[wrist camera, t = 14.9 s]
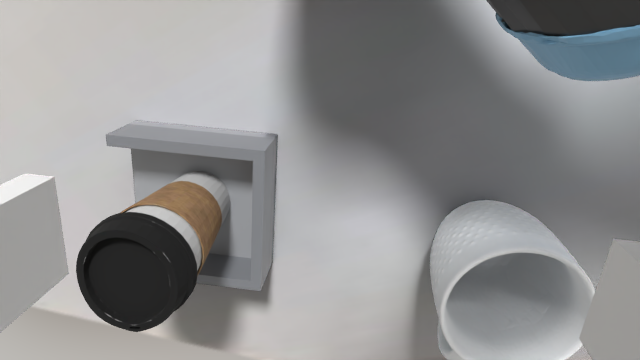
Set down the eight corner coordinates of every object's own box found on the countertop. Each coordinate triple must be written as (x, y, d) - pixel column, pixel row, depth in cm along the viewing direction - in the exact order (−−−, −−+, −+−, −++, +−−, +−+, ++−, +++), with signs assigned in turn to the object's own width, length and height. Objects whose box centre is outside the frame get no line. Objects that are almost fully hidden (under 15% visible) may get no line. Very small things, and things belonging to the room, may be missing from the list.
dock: (136, 120, 44) (105, 134, 39) (277, 134, 43) (264, 151, 38) (146, 246, 49) (119, 273, 44) (272, 261, 48) (260, 291, 43)
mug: (484, 323, 48) (522, 429, 36) (387, 287, 48) (393, 382, 35) (558, 205, 42) (633, 282, 30) (450, 163, 42) (482, 224, 30)
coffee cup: (169, 237, 47) (82, 334, 33) (152, 159, 44) (50, 229, 30) (247, 236, 46) (193, 336, 32) (237, 156, 43) (171, 227, 29)
